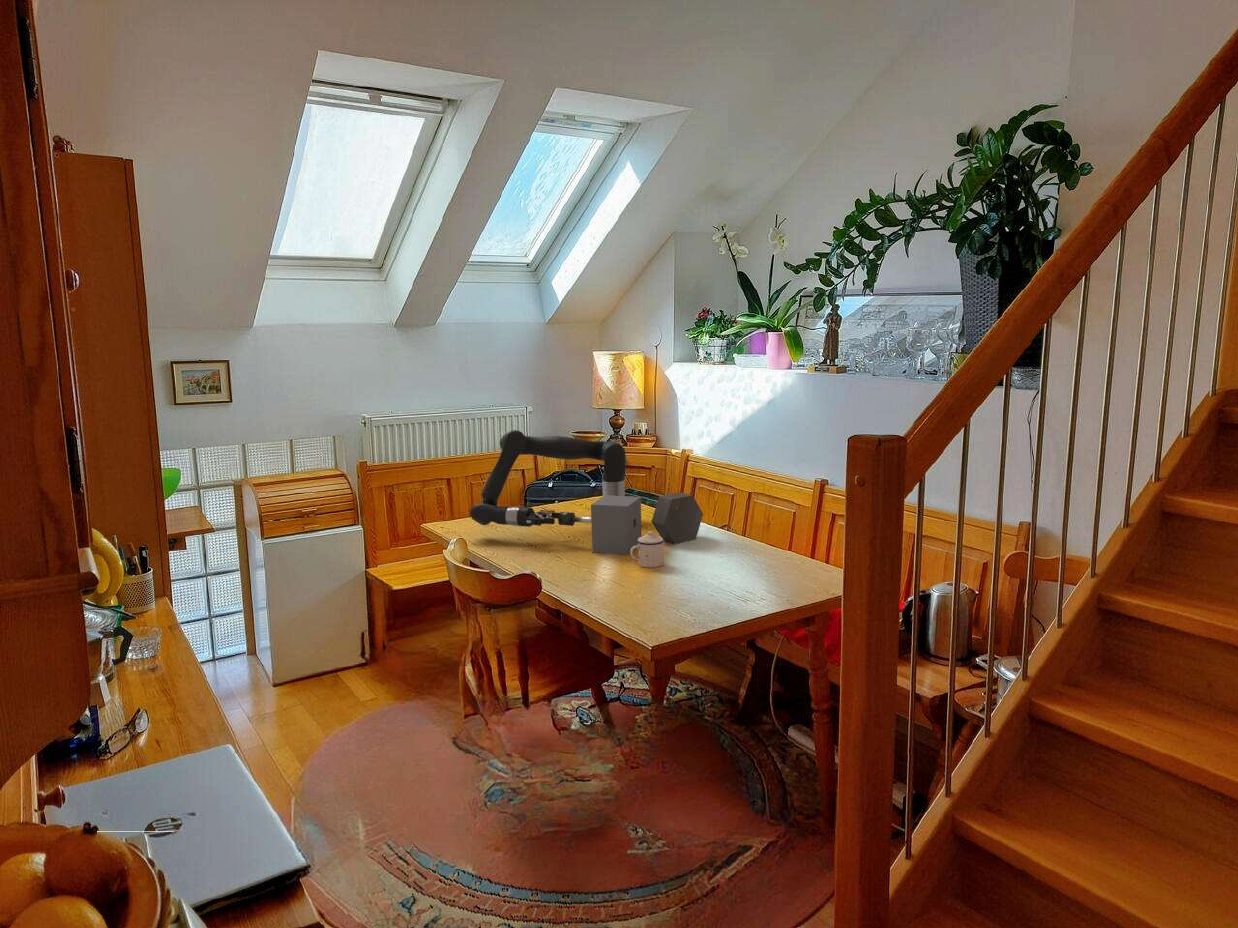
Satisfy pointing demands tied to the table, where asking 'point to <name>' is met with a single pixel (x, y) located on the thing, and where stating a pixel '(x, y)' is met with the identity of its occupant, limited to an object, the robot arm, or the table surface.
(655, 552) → the teacup with lid
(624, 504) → the block
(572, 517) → the plunger
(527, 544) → the table surface
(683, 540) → the dark grey hexagonal block
